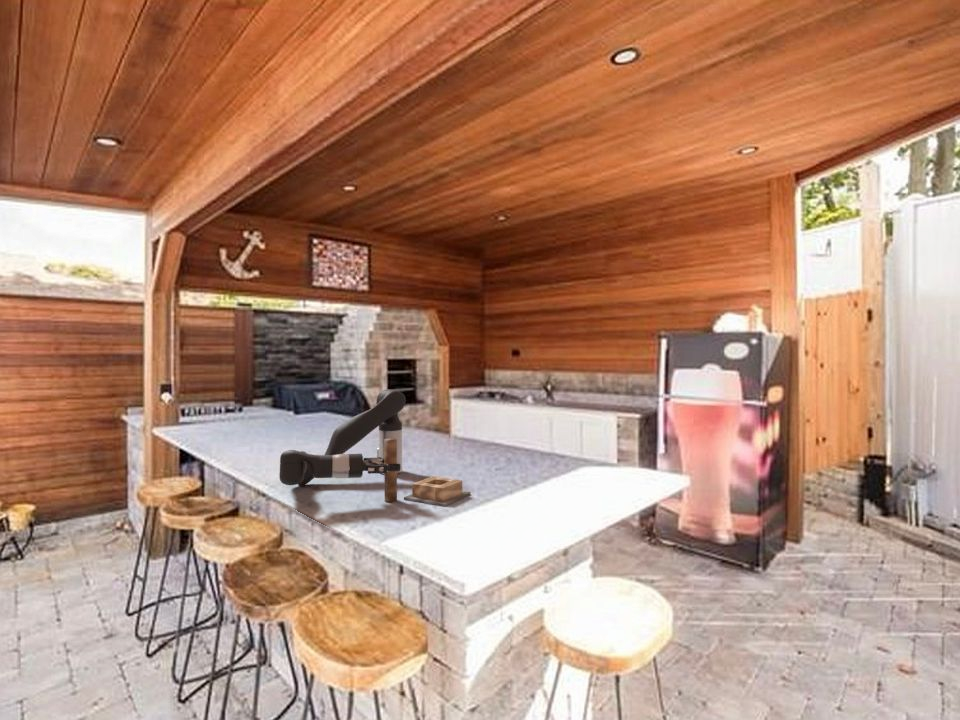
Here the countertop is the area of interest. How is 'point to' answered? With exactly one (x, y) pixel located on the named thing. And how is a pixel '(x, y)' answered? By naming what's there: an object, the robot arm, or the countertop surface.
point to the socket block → (437, 491)
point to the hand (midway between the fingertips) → (397, 464)
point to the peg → (390, 476)
